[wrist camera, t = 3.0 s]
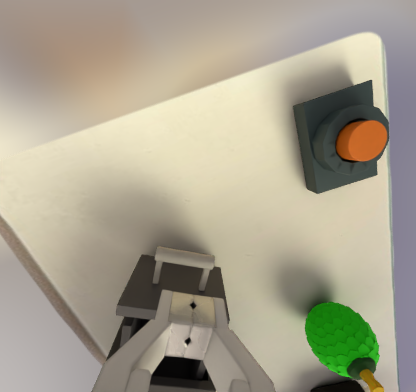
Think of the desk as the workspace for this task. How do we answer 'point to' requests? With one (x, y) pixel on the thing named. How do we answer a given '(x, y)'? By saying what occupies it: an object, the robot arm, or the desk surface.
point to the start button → (361, 140)
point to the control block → (335, 136)
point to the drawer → (172, 281)
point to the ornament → (343, 342)
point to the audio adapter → (343, 387)
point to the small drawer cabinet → (166, 386)
